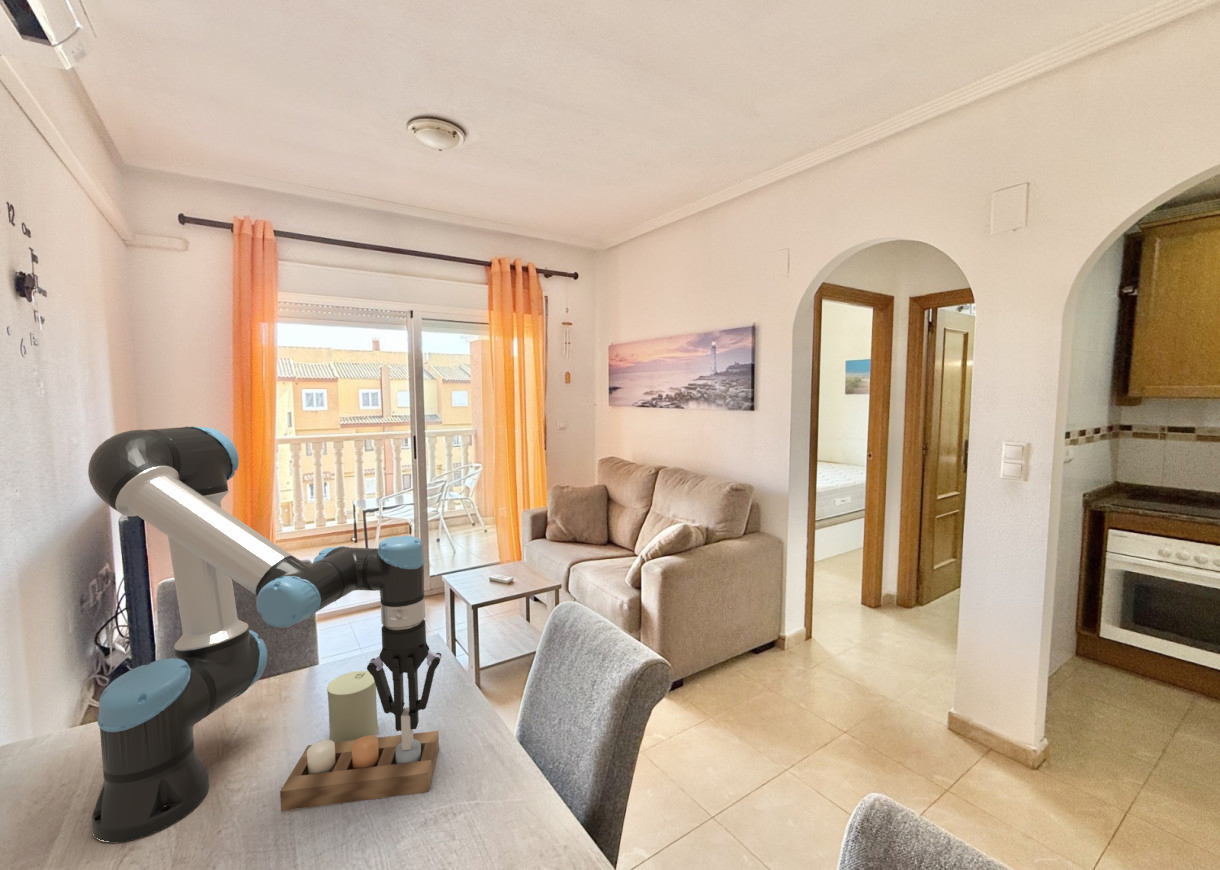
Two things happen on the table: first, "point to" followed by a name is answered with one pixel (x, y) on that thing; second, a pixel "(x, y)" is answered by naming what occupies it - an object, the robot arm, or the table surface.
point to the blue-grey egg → (408, 753)
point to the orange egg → (365, 752)
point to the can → (352, 706)
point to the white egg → (321, 757)
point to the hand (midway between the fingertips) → (407, 744)
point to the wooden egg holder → (361, 775)
